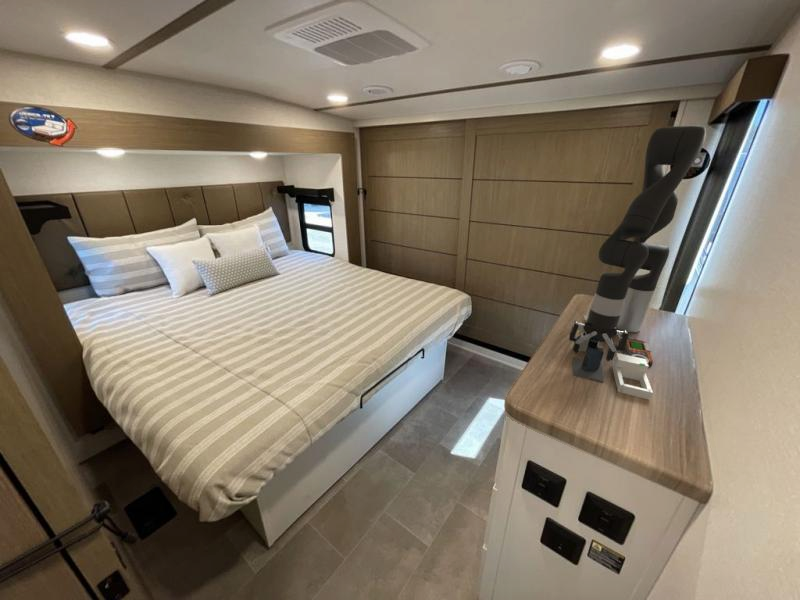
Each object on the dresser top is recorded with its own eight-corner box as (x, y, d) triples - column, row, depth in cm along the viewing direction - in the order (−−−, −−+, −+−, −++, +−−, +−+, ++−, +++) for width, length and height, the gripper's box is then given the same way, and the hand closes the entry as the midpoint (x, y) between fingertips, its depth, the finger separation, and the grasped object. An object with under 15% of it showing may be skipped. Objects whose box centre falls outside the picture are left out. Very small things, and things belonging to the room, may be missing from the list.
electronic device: (629, 359, 98) (624, 335, 110) (627, 366, 99) (621, 342, 111) (655, 365, 95) (647, 340, 107) (652, 372, 96) (644, 347, 108)
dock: (608, 350, 106) (613, 337, 104) (634, 355, 103) (639, 342, 101) (617, 391, 87) (623, 376, 85) (649, 399, 84) (656, 384, 82)
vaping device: (579, 366, 97) (588, 334, 92) (594, 365, 98) (604, 333, 93) (584, 371, 95) (594, 338, 90) (600, 370, 95) (610, 337, 90)
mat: (572, 358, 102) (573, 357, 102) (600, 364, 99) (600, 363, 99) (573, 375, 94) (573, 374, 94) (603, 382, 91) (603, 381, 91)
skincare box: (595, 348, 108) (604, 317, 102) (596, 354, 104) (606, 323, 99) (574, 344, 110) (583, 313, 105) (575, 350, 106) (583, 319, 101)
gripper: (633, 308, 88) (617, 355, 94) (577, 300, 94) (565, 344, 100) (638, 319, 82) (620, 369, 88) (578, 309, 87) (565, 356, 94)
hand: (591, 356), depth 94 cm, fingers open, 8 cm apart
